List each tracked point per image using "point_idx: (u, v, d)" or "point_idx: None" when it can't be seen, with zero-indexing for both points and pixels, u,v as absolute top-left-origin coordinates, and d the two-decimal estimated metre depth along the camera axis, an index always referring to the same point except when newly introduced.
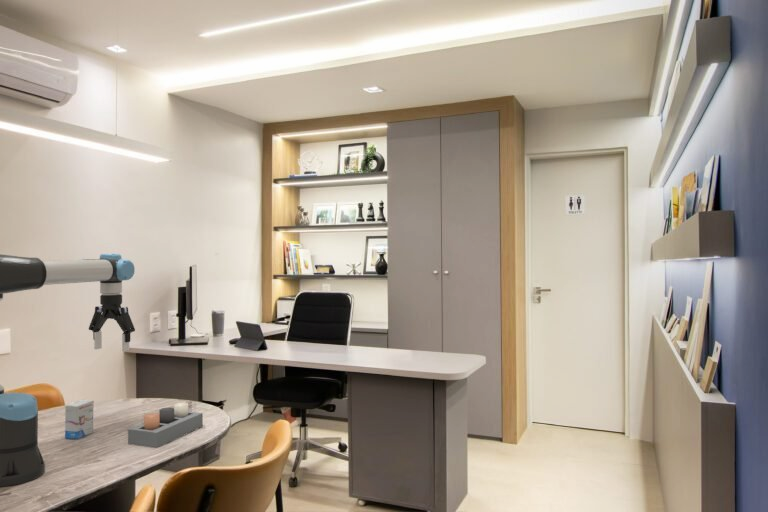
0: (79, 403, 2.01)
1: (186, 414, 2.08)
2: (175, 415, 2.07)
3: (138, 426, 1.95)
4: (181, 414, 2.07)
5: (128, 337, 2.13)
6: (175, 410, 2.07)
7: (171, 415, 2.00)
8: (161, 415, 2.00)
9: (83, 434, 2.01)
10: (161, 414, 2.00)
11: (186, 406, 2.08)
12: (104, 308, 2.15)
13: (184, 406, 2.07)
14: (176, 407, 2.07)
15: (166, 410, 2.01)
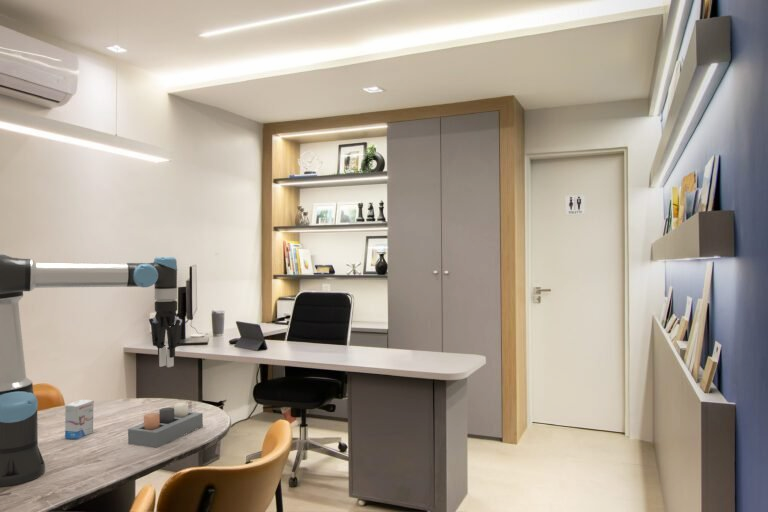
0: (79, 403, 2.01)
1: (186, 414, 2.08)
2: (175, 415, 2.07)
3: (138, 426, 1.95)
4: (181, 414, 2.07)
5: (173, 352, 2.00)
6: (175, 410, 2.07)
7: (171, 415, 2.00)
8: (161, 415, 2.00)
9: (83, 434, 2.01)
10: (161, 414, 2.00)
11: (186, 406, 2.08)
12: (158, 314, 2.01)
13: (184, 406, 2.07)
14: (176, 407, 2.07)
15: (166, 410, 2.01)
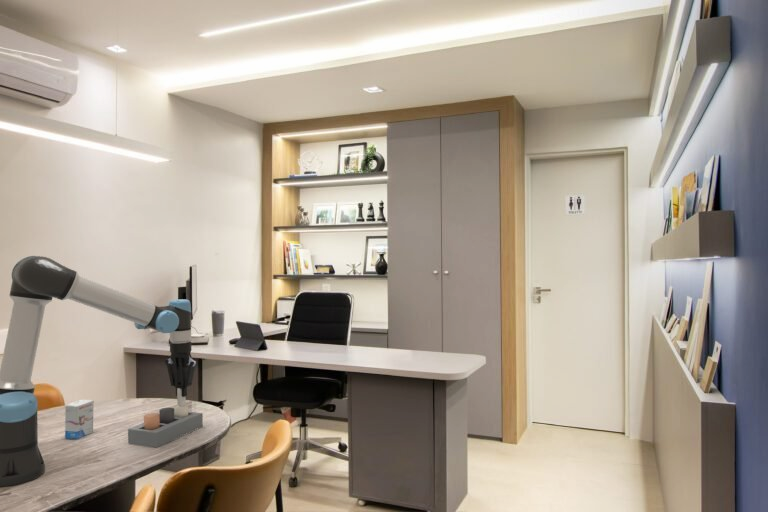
0: (79, 403, 2.01)
1: None
2: None
3: (138, 426, 1.95)
4: (181, 416, 2.07)
5: (185, 392, 2.08)
6: (175, 412, 2.07)
7: (171, 415, 2.00)
8: (161, 415, 2.00)
9: (83, 434, 2.01)
10: (161, 414, 2.00)
11: (186, 408, 2.08)
12: (172, 355, 2.09)
13: (184, 408, 2.07)
14: (176, 409, 2.07)
15: (166, 410, 2.01)
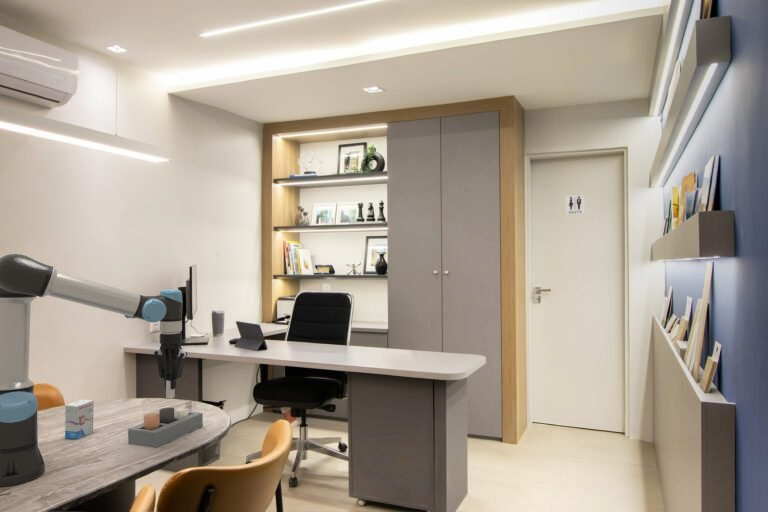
0: (79, 403, 2.01)
1: None
2: None
3: (138, 426, 1.95)
4: None
5: (174, 384, 2.03)
6: (175, 416, 2.07)
7: (171, 415, 2.00)
8: (161, 415, 2.00)
9: (83, 434, 2.01)
10: (161, 414, 2.00)
11: (186, 412, 2.08)
12: (162, 346, 2.04)
13: (184, 412, 2.07)
14: (176, 413, 2.07)
15: (166, 410, 2.01)
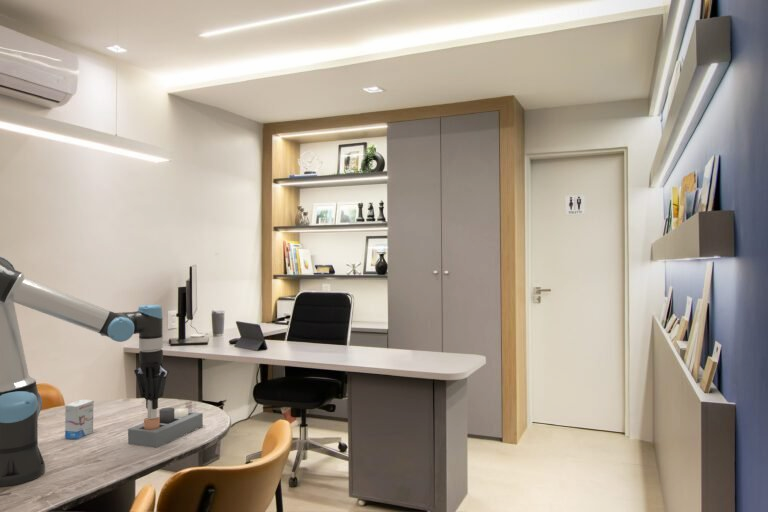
0: (79, 403, 2.01)
1: None
2: None
3: (138, 426, 1.95)
4: None
5: (155, 404, 1.94)
6: (175, 416, 2.07)
7: (171, 415, 2.00)
8: (161, 415, 2.00)
9: (83, 434, 2.01)
10: (161, 414, 2.00)
11: (186, 412, 2.08)
12: (142, 364, 1.95)
13: (184, 412, 2.07)
14: (176, 413, 2.07)
15: (166, 410, 2.01)
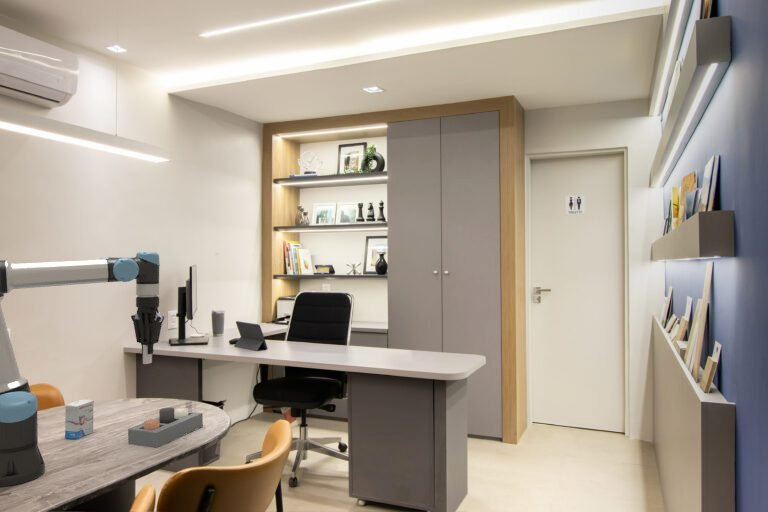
0: (79, 403, 2.01)
1: None
2: None
3: (138, 426, 1.95)
4: None
5: (151, 349, 1.98)
6: (175, 416, 2.07)
7: (171, 415, 2.00)
8: (161, 415, 2.00)
9: (83, 434, 2.01)
10: (161, 414, 2.00)
11: (186, 412, 2.08)
12: (139, 310, 1.98)
13: (184, 412, 2.07)
14: (176, 413, 2.07)
15: (166, 410, 2.01)
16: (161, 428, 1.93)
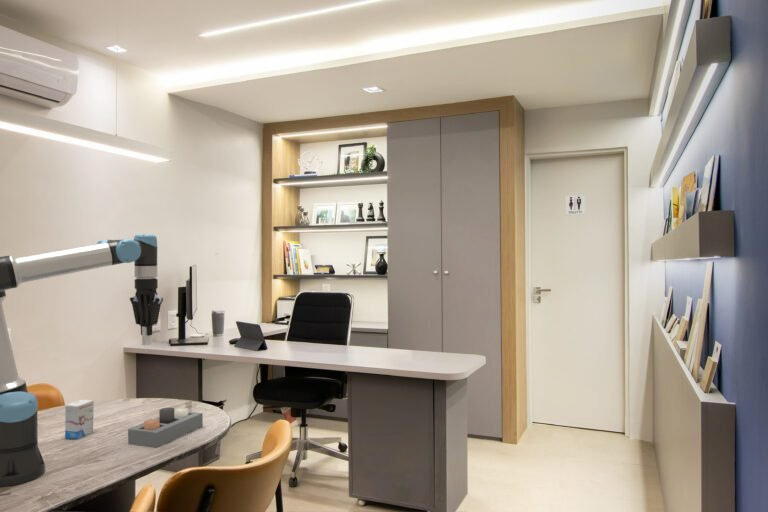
0: (79, 403, 2.01)
1: None
2: None
3: (138, 426, 1.95)
4: None
5: (150, 330, 2.00)
6: (175, 416, 2.07)
7: (171, 415, 2.00)
8: (161, 415, 2.00)
9: (83, 434, 2.01)
10: (161, 414, 2.00)
11: (186, 412, 2.08)
12: (138, 292, 2.01)
13: (184, 412, 2.07)
14: (176, 413, 2.07)
15: (166, 410, 2.01)
16: (161, 428, 1.93)
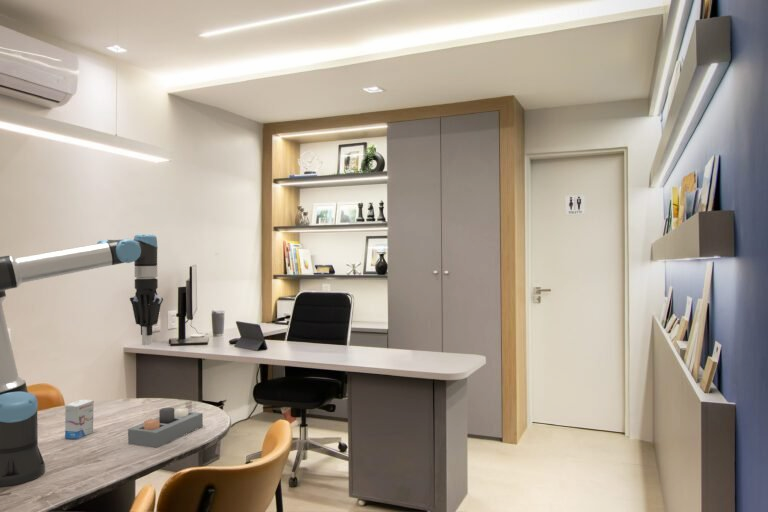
0: (79, 403, 2.01)
1: None
2: None
3: (138, 426, 1.95)
4: None
5: (150, 330, 2.00)
6: (175, 416, 2.07)
7: (171, 415, 2.00)
8: (161, 415, 2.00)
9: (83, 434, 2.01)
10: (161, 414, 2.00)
11: (186, 412, 2.08)
12: (138, 292, 2.01)
13: (184, 412, 2.07)
14: (176, 413, 2.07)
15: (166, 410, 2.01)
16: (161, 428, 1.93)
